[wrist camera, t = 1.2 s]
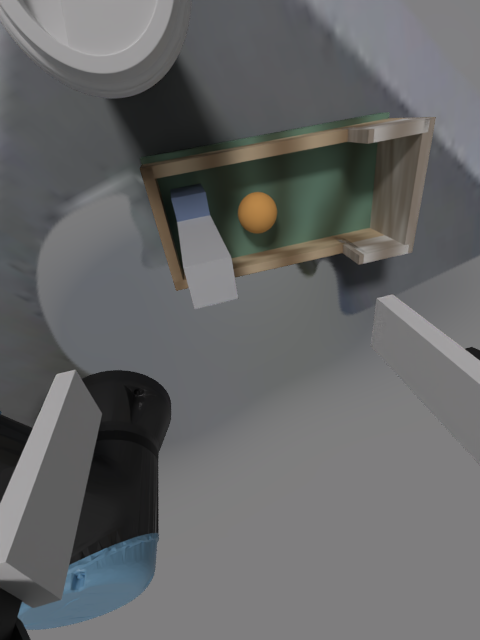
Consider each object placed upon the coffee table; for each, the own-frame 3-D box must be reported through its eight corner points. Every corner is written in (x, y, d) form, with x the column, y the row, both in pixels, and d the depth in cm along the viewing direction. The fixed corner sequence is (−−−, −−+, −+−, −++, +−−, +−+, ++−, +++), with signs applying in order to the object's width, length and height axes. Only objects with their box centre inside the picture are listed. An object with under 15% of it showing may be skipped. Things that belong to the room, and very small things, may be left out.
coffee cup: (67, -88, 21) (-67, -381, 9) (197, 3, 25) (229, -115, 13) (45, 70, 25) (-70, 18, 13) (160, 129, 29) (157, 132, 17)
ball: (237, 230, 34) (245, 242, 31) (231, 192, 32) (239, 200, 28) (272, 223, 34) (283, 233, 31) (268, 185, 32) (280, 192, 29)
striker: (187, 256, 34) (200, 333, 21) (170, 189, 30) (174, 235, 18) (213, 250, 34) (242, 323, 22) (200, 183, 30) (225, 224, 18)
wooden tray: (176, 277, 37) (178, 311, 30) (141, 157, 30) (134, 166, 23) (369, 234, 39) (411, 256, 33) (380, 112, 32) (437, 109, 25)
